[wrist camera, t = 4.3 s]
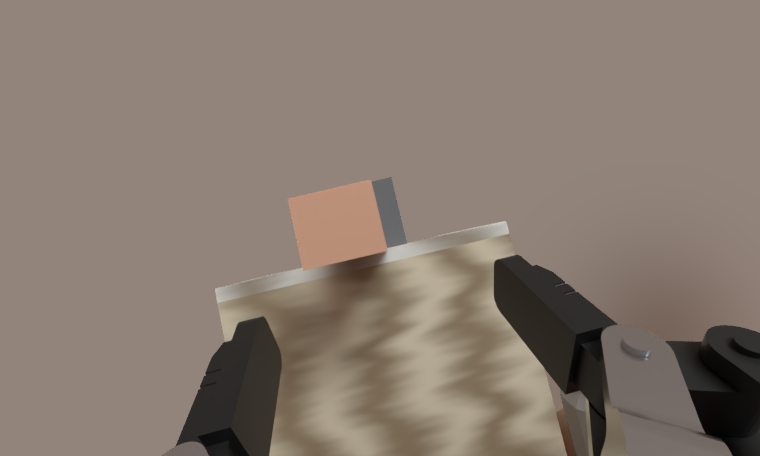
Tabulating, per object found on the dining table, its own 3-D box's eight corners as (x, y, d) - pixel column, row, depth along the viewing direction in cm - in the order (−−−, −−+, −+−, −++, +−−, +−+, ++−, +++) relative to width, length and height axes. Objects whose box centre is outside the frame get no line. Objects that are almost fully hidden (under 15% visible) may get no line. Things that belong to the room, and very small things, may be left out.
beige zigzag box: (531, 523, 32) (459, 230, 34) (621, 663, 21) (506, 220, 23) (328, 588, 30) (264, 276, 32) (310, 780, 19) (214, 288, 21)
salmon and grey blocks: (339, 258, 32) (327, 204, 32) (403, 244, 32) (390, 189, 32) (260, 280, 12) (232, 138, 12) (429, 241, 12) (395, 100, 12)
